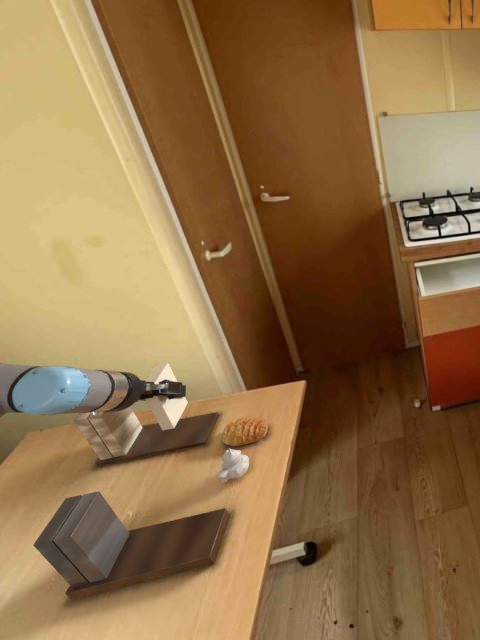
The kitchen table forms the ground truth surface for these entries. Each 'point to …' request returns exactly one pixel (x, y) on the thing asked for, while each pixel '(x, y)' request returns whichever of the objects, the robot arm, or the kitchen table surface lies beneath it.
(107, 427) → the wooden bookend
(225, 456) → the white garlic bulb
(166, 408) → the white book
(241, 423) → the pastry
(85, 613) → the kitchen table surface
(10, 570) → the kitchen table surface
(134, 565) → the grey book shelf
